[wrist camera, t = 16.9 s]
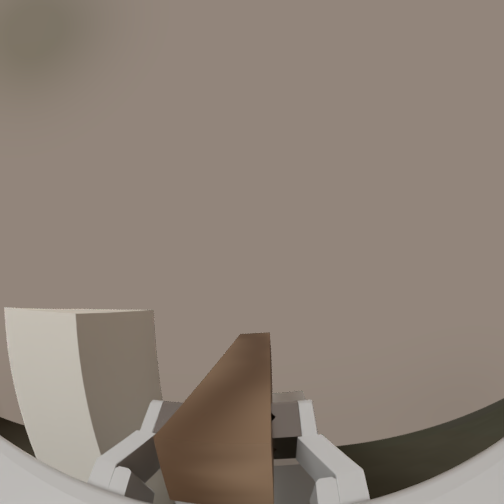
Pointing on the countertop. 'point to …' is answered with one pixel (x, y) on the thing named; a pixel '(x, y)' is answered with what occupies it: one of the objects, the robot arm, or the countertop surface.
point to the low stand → (289, 469)
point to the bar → (224, 432)
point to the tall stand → (83, 382)
